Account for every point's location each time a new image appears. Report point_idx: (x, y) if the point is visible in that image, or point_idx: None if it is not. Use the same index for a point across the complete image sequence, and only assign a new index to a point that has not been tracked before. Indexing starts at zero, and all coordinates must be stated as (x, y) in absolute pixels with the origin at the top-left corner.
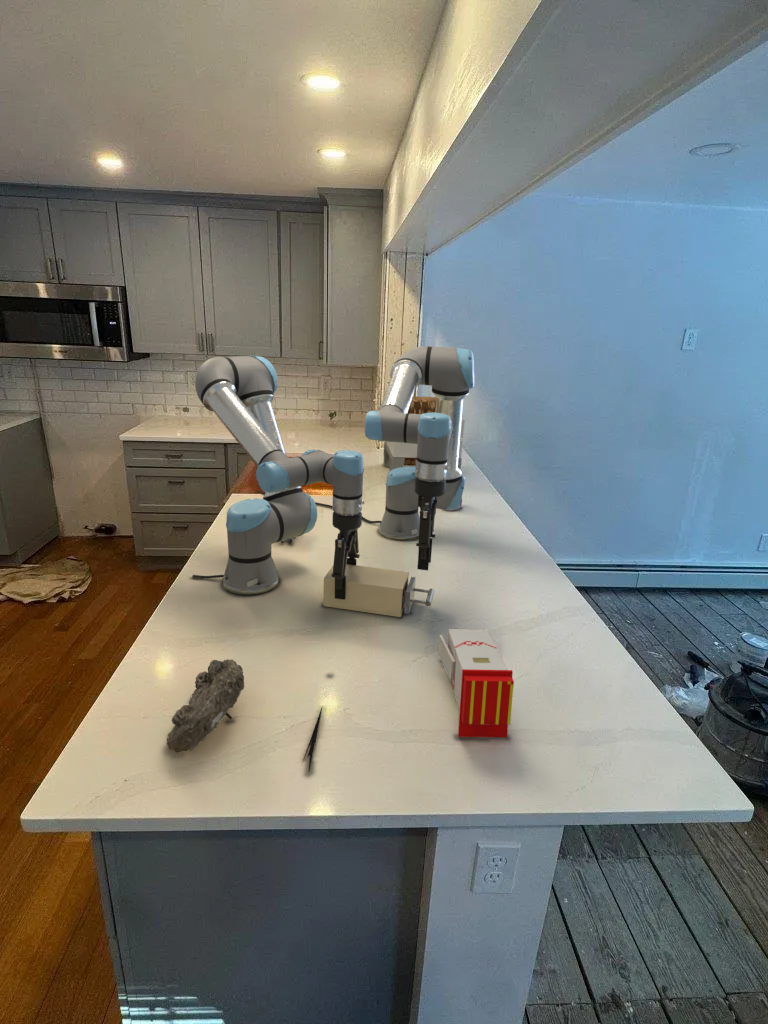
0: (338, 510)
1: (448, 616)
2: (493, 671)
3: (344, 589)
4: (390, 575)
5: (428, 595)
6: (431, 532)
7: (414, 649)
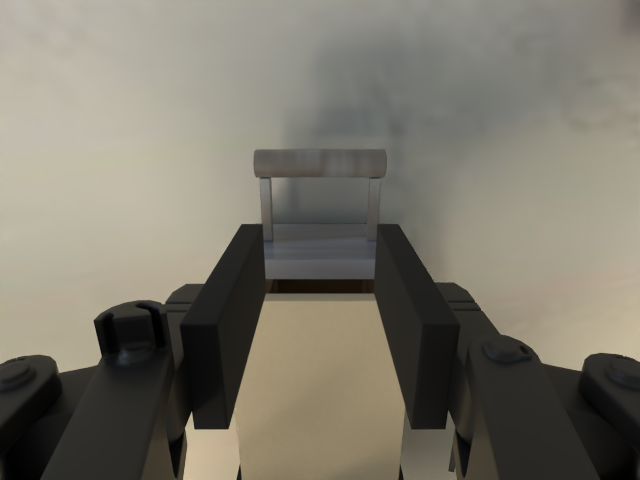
0: None
1: (338, 65)
2: None
3: (401, 472)
4: (291, 369)
5: (327, 171)
6: (163, 405)
7: (593, 166)
